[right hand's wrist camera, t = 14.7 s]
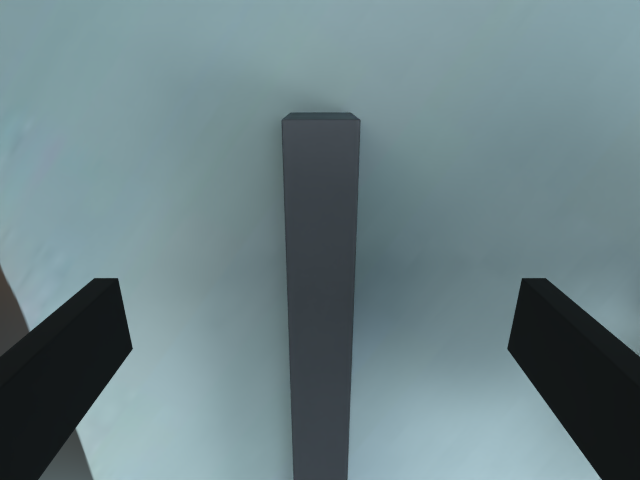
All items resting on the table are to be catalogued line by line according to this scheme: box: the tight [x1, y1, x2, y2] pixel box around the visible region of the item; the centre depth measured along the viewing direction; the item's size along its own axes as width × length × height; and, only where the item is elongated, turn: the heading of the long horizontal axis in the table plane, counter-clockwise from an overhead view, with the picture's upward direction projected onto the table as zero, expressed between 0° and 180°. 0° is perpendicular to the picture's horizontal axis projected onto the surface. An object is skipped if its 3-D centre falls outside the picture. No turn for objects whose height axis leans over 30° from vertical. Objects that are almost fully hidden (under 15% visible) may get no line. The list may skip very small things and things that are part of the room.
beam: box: [282, 113, 360, 480], centre depth 40 cm, size 71×5×8 cm, turn 0°
